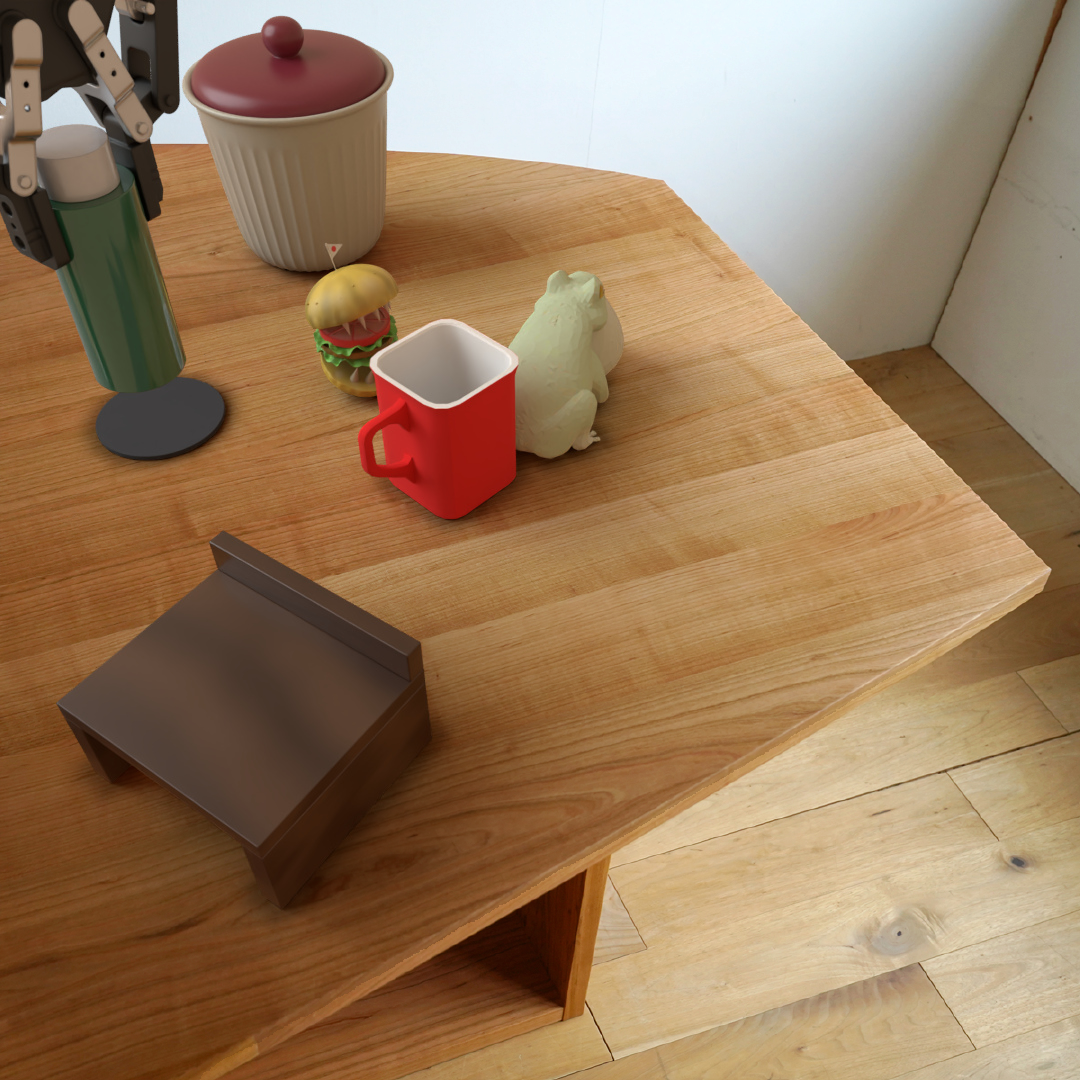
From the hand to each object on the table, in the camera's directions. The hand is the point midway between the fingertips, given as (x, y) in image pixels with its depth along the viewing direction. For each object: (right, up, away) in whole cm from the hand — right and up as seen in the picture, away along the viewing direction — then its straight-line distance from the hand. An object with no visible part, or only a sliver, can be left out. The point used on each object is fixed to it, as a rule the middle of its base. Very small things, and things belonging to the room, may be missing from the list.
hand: (97, 236), depth 48 cm
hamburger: (+6, -1, +39) cm, 39 cm away
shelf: (+4, -27, +13) cm, 30 cm away
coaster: (-10, -4, +35) cm, 37 cm away
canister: (-1, +15, +54) cm, 56 cm away
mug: (+13, -10, +30) cm, 34 cm away
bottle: (0, -5, +5) cm, 7 cm away
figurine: (+22, -3, +37) cm, 43 cm away
